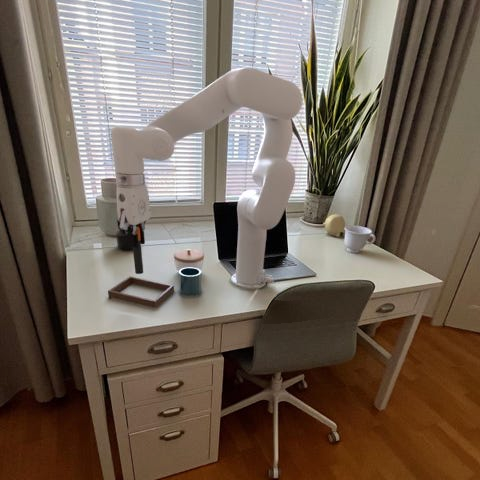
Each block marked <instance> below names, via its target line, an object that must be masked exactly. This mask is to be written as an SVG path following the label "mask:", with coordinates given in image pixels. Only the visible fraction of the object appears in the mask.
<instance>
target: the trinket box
mask: <svg viewBox="0 0 480 480" xmlns="http://www.w3.org/2000/svg"><path fill="white" fill-rule="evenodd" d="M204 258H205V254H204V252H203V251H201V250H199V249H194V248H183V249H179V250H175V252H174V253H173V259H174V267H175V269H176V271H177V272H178V273H179V270H181V269H183V268H187V267H193V268H197V269H199V270H200V271H201V272H202V269H203V267H204V260H205V259H204Z"/></svg>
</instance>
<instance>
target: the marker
mask: <svg viewBox="0 0 480 480" xmlns="http://www.w3.org/2000/svg"><path fill="white" fill-rule="evenodd" d="M131 228H132V227H131ZM136 234H138V242H139V247H138V248H135V247H133V250H132V252H133V262H134V273H135V274H136V275H142V274H143V273H144V263H143V254H142V253H143V252H142V244H141V238H140V228H139V227H136Z"/></svg>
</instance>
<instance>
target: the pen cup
mask: <svg viewBox="0 0 480 480" xmlns="http://www.w3.org/2000/svg"><path fill="white" fill-rule="evenodd" d="M178 282H179V283H178V288H179V293H180V294H181V295H183V296H188V297H192V296H193V297H194V296H197V295H199V294H200V293H201V292H202V270H201V271H200V270H199V269H197V268H193V267H187V268H183V269H181V270H179V272H178Z"/></svg>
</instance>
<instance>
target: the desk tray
mask: <svg viewBox="0 0 480 480" xmlns="http://www.w3.org/2000/svg"><path fill="white" fill-rule="evenodd" d="M131 285H137V286H142V287H146V288H152V289H156V290H161V291H163V292H162V293H160V294H159V295H158V296H157V297H156V298H155V299H151V298H146V297H143V296H137V295H133V294H129V293H125V292H122V291H124V290H125V289H127V288H128V287H130V286H131ZM174 292H175V285H174V284H170V283H164V282H160V281H159V282H158V281H155V280H150V279H147V278H146V279H145V278H140V277H136V276H131V275H129V276H128V277H126V278H125V279H123V280H122V281H121V282H119V283H118V284H116V285H114V286H113V287H111V288H110V289H109V290H107V295H108V296H107V297H108V299H109V300H112V299H115V300H118V301H119V300H120V301H124V302H128V303H132V304H136V305H142V306H146V307H150V308H154V309H156V308H157V307H159V306H160V305H161V304H162V303H163V302H164V301H165V300H166V299H167V298H168V297H170V296H171V295H172V294H173V293H174Z"/></svg>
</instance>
